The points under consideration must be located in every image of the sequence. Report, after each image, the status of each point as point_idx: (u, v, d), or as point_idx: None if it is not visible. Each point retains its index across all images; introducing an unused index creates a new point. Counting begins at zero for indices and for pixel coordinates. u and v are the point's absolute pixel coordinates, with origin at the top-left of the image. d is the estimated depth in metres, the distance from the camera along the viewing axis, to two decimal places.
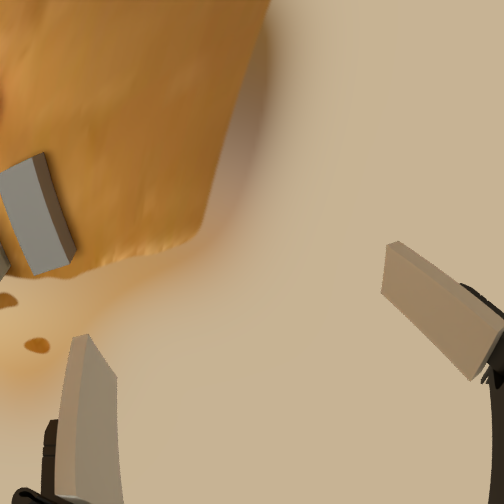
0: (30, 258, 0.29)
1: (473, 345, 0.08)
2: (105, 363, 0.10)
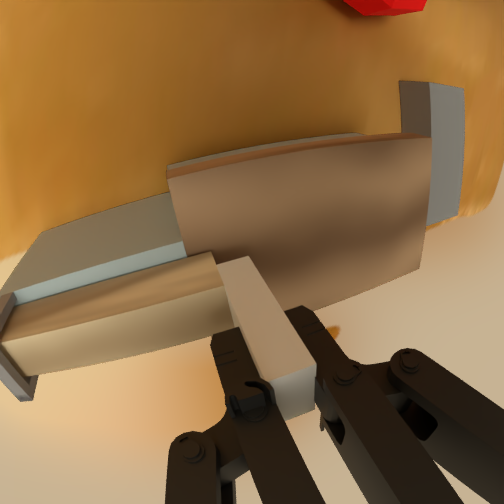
0: (431, 202, 0.25)
1: None
2: None
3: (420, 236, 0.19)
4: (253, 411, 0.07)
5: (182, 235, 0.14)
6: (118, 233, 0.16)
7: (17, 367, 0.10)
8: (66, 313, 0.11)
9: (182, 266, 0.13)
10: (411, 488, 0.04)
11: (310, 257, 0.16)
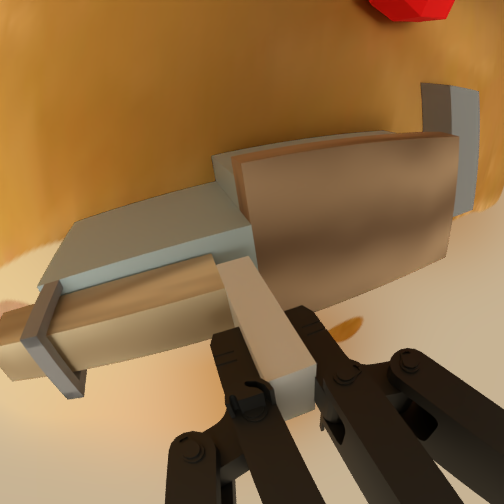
0: None
1: None
2: None
3: (447, 227, 0.19)
4: (253, 411, 0.07)
5: (251, 219, 0.14)
6: (173, 219, 0.16)
7: (18, 370, 0.10)
8: (66, 316, 0.11)
9: (183, 268, 0.13)
10: (411, 488, 0.04)
11: (360, 243, 0.17)
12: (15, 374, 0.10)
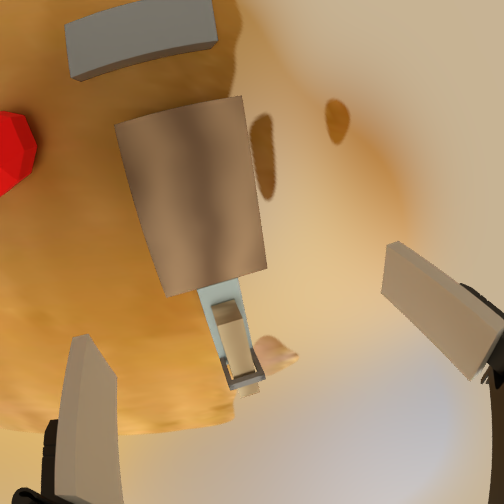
0: (191, 37, 0.21)
1: (473, 345, 0.08)
2: (105, 363, 0.10)
3: (206, 108, 0.20)
4: None
5: (194, 289, 0.27)
6: None
7: (252, 389, 0.32)
8: None
9: (215, 321, 0.28)
10: None
11: (212, 217, 0.25)
12: (255, 390, 0.32)
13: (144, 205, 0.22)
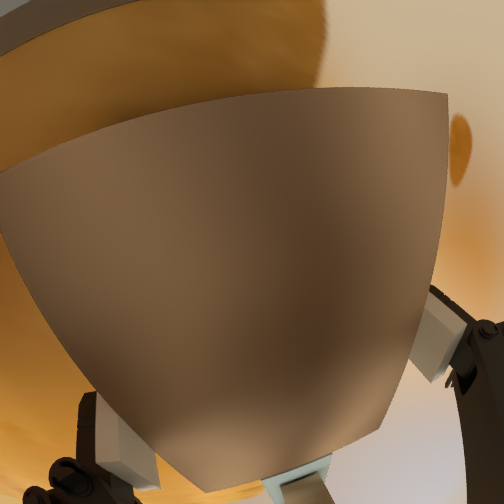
0: None
1: (431, 346, 0.08)
2: None
3: (362, 113, 0.05)
4: (80, 487, 0.04)
5: None
6: None
7: None
8: None
9: (285, 500, 0.13)
10: None
11: (317, 406, 0.09)
12: None
13: (144, 414, 0.07)
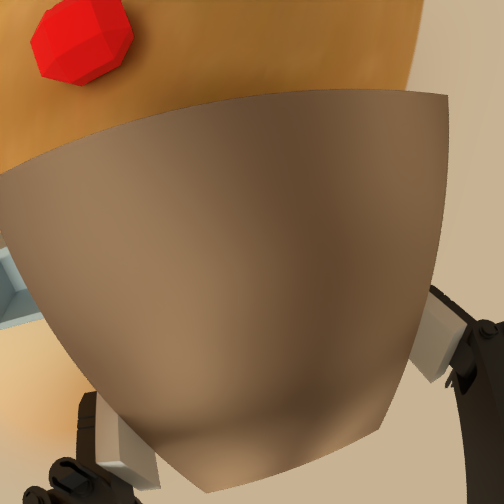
0: None
1: (431, 346, 0.08)
2: None
3: (362, 115, 0.05)
4: (80, 487, 0.04)
5: (256, 480, 0.12)
6: None
7: None
8: None
9: None
10: None
11: (317, 406, 0.09)
12: None
13: (145, 415, 0.07)
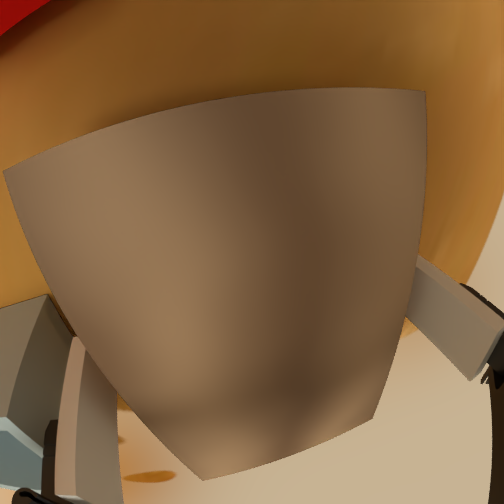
0: None
1: (473, 345, 0.08)
2: None
3: (340, 111, 0.06)
4: None
5: (251, 467, 0.12)
6: None
7: None
8: None
9: None
10: None
11: (309, 389, 0.10)
12: None
13: (143, 393, 0.08)
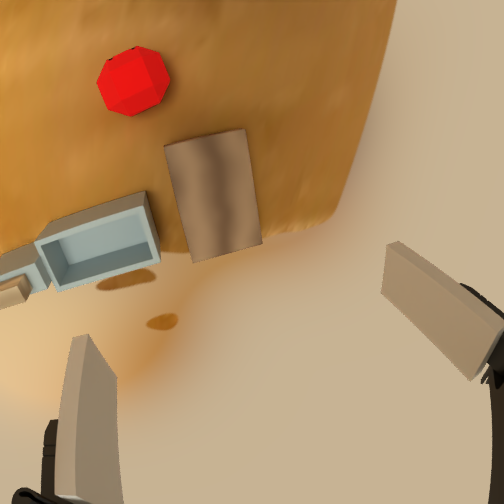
0: None
1: (473, 345, 0.08)
2: (105, 363, 0.10)
3: (222, 137, 0.34)
4: None
5: (212, 257, 0.40)
6: (23, 258, 0.32)
7: None
8: None
9: (15, 278, 0.28)
10: None
11: (226, 208, 0.38)
12: None
13: (182, 199, 0.35)
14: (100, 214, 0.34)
